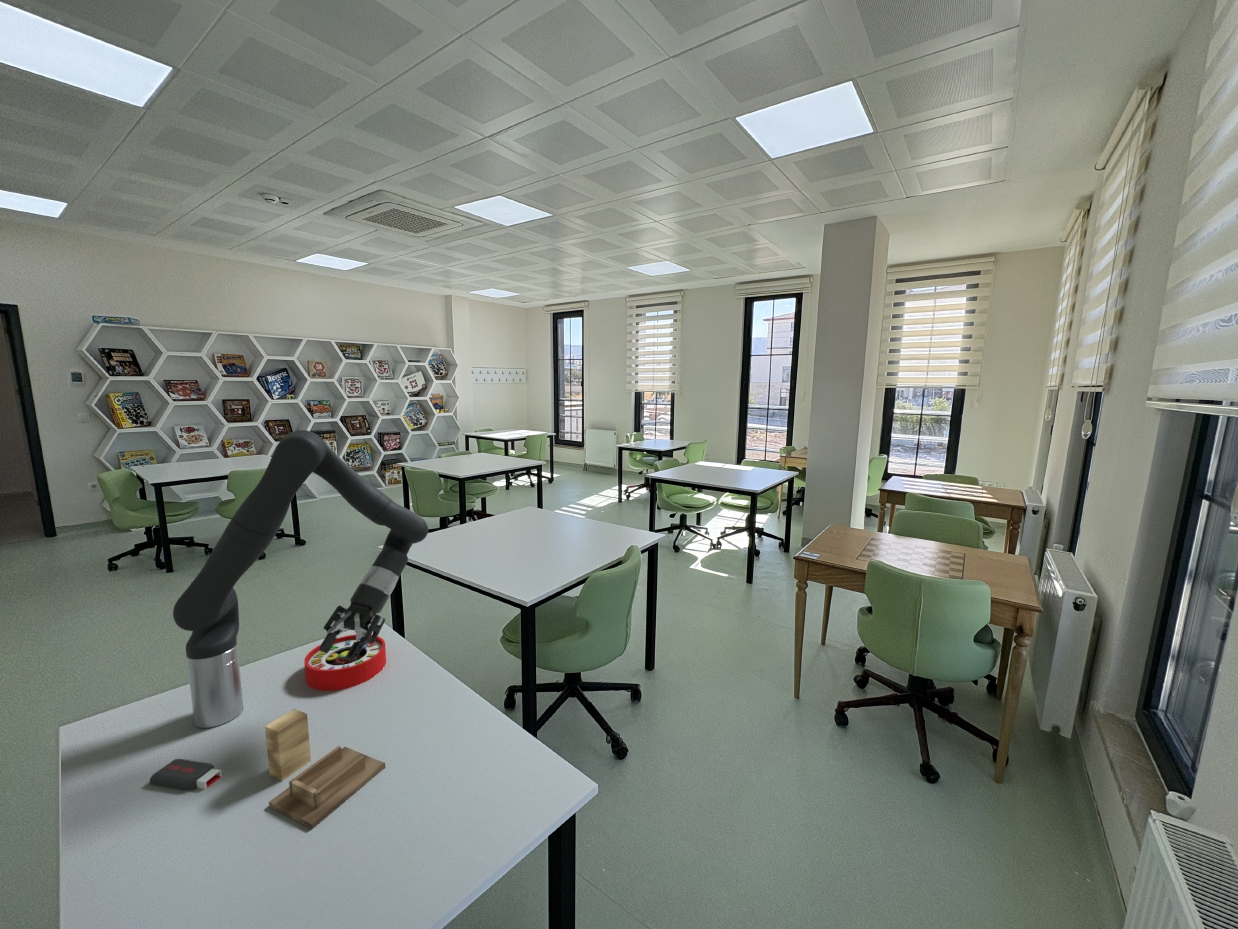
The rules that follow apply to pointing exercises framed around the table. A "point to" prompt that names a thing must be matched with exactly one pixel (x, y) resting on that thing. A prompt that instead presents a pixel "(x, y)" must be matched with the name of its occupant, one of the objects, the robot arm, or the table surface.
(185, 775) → the usb drive
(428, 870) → the table surface
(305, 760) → the oak plank
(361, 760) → the groove board
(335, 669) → the toy clock
